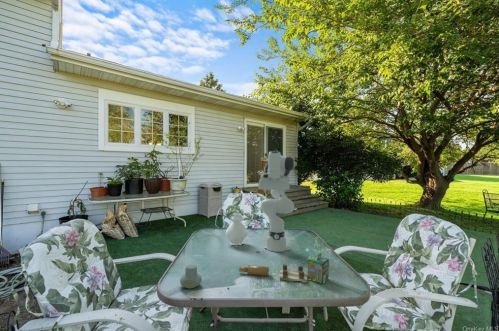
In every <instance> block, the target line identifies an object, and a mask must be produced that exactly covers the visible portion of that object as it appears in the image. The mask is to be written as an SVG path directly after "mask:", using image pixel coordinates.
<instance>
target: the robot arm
mask: <svg viewBox="0 0 499 331" xmlns="http://www.w3.org/2000/svg"><path fill="white" fill-rule="evenodd" d="M264 165H265V166H264V169H263V170H264V173H263V174H260V179H259V181H258V189H259V190H263V192H264V194H265V195H264V196H265V197H266V198H265V199H263V200H262V201H261V203H260V209H261V210H262V212H263V213H264V214H265V215H266V216H267V217H268V220H269V230H268V237H266V245H265V246H264V248H263V249H265V248H266V249H265V250H268V251H270V252H275V253H282V252H285V250H286V251H289V250H290V249H289V247H288V244H287V238H286V236H285V234H286V233H285V221H284V219H282V218H281V217H279V216H277V214H291V213H292V212H294V209H295V204H294V202H293V200H291V199H289V198H288V197H287V195H286V194H285V192H286V191H289V190H290V188H291V185H290V182H291V178H290V177H289V174H290V173H291V171H293V170H294V167H295V161H294V158H292V156H284V155H282V153H281V151H279V150H270V151H269V152H268V157H267V159H266V164H264ZM267 190H270V194H271V197H272V198H268V197H269V194H268V193H267Z"/></svg>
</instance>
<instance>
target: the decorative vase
mask: <svg viewBox="0 0 499 331" xmlns="http://www.w3.org/2000/svg"><path fill="white" fill-rule="evenodd" d="M242 215H243V213H242V212H233V213H232V216H231V221H232V223H231V224H229V226H228V227H227V229H226V231H225V236H226V237H227V239H228V240H229V243H230V244H231V245H241V244H242V242H243V243H244V240H246V238H247V236H248V233H249V232H248V228H247V227H246V226H245V224H243V222H242V221H243V220H244V217H243V216H242ZM231 245H230V246H231Z"/></svg>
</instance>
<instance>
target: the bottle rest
mask: <svg viewBox="0 0 499 331" xmlns="http://www.w3.org/2000/svg"><path fill="white" fill-rule="evenodd" d="M281 280H287V281H286V282H293V281H302V282H301V283H305V282H307V283H308V276H307V272H306V271H304V266H303V265H298V267H297V270H288V264H284V263H283V265H282V269H279V281H281Z"/></svg>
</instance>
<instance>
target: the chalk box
mask: <svg viewBox="0 0 499 331" xmlns="http://www.w3.org/2000/svg"><path fill="white" fill-rule="evenodd" d="M329 268H330V259H329V258H328V257H327V258H326V257H322V252H320V253H319V254H318V255H315V254H314V255H313V256H311V257H310V258H308V259H307V280H308V279H311V280H315V281H318V282H321V283H323V282H324V281H325V280H327V279H328V278H329V275H330V274H329V270H330V269H329ZM311 280H310V281H311ZM328 280H329V279H328ZM328 280H327V281H328ZM324 283H325V282H324ZM324 283H323V284H324Z"/></svg>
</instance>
